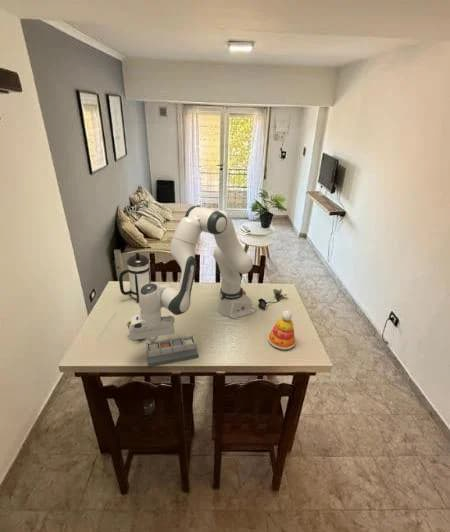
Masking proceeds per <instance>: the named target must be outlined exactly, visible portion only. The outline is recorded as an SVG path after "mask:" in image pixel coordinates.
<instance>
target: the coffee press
mask: <svg viewBox="0 0 450 532" xmlns="http://www.w3.org/2000/svg"><path fill="white" fill-rule="evenodd" d="M150 262H151V260H150V258H149V257H148V256H147V255H144V254H140V252H136V253H135V254H133V255H130V256H128V258H127V260H126V264H127V269H124V270H123V271H121V273H120V274H119V276H118V282H119V290H120V293H121V294H122V295H124V296H127V295H128V296H129V297H132V298H134V299H136V304H137V303H138V304H139V293H140V290H141V288H142V287H143V286H144V285H146V284H152V283H151V273H150V271H151V270H150V268H151V267H150ZM126 274H128V279H129V287H130V288H129V290H128V291H125V290H124V282H123V277H124V276H125V275H126Z"/></svg>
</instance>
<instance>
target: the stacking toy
mask: <svg viewBox="0 0 450 532" xmlns="http://www.w3.org/2000/svg"><path fill="white" fill-rule="evenodd" d="M292 318H293V314H292V312H291V311H290V310H285V311H283V313H281V317H280V318H278V319H277V320H276V323H275V324H274V326H273V328H272V329H271V331H270V332H269V334H268V335H267V340H268V343H269V344H270V345H271V346H273V347H274V348H276V349H278V350H279V349H280V350H283V351H284V350H290V349H292V348H293V347H294V346H295V345H296V343H297V340H296V337H295V329H294V323H293V321H292Z"/></svg>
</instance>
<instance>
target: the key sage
mask: <svg viewBox="0 0 450 532" xmlns="http://www.w3.org/2000/svg"><path fill="white" fill-rule="evenodd" d="M149 349H150V351H151V350H156V349H158V344H152V345H149Z"/></svg>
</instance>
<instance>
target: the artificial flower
mask: <svg viewBox="0 0 450 532" xmlns="http://www.w3.org/2000/svg"><path fill="white" fill-rule="evenodd" d="M272 292H273V294H274V296H275V298H276V299H275V300H276V301H266V300H265V299H264V298H259V299H258V304H257V306H258V308H259V309H260V310H265V309H266V307H267V304H270V303H278V302H279V301H280V300H281V297H282V296H285V297H286V296H288V294H286V293H285V294H283V289H282V288H280V289H277V288H274V289H273V290H272Z"/></svg>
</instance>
